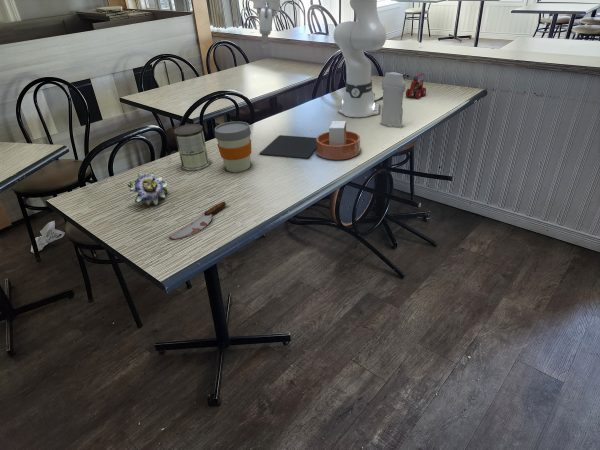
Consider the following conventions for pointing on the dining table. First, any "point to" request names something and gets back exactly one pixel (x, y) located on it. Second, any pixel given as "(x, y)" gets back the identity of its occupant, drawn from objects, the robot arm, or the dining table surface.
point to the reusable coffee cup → (234, 145)
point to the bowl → (338, 147)
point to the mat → (291, 147)
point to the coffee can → (191, 146)
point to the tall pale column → (392, 99)
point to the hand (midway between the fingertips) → (264, 48)
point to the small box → (337, 133)
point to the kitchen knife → (198, 222)
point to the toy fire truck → (416, 87)
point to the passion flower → (148, 188)
